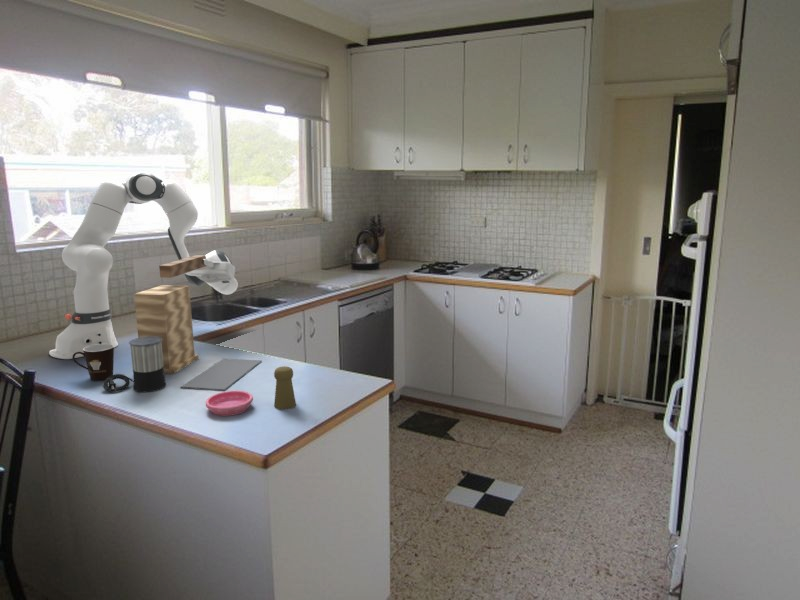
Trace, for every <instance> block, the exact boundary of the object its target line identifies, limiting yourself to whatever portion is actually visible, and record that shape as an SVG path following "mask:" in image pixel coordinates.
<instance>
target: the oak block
mask: <svg viewBox="0 0 800 600" xmlns="http://www.w3.org/2000/svg"><path fill="white" fill-rule="evenodd" d="M190 289H191V288H190V285H177V284H176V285H173V284H172V285H171V284H160V285H159V286H155V287H152V288H149V289H146V290H142V291H139V292H136V293H133V296H134V297H133V298H134V299H133V300H134V307H135V317H136V318H135V319H136V327H137V338H141V337H148V336H152V337H160V338H162V341H161V343H162V354H163V367H164V374H171V375H174V374H176V373H178V372H179V371H181V370H183V369H184V368H186V367H188V366H190V365H191V364H192V362H193V361H194V362H196V361H197V359H198V358H199V355H200V354H196V353H195V344H194V343H195V342H194V330H193V317H192V316H193V315H192V304H191V291H190ZM195 360H196V361H195ZM198 360H199V359H198ZM194 362H193V363H194ZM190 363H191V364H190ZM187 365H188V366H187ZM185 366H186V367H185ZM182 368H183V369H182Z"/></svg>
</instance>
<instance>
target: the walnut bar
mask: <svg viewBox="0 0 800 600" xmlns="http://www.w3.org/2000/svg"><path fill="white" fill-rule="evenodd" d="M202 259H206V254H205V255H203V254H201V255H199V254H195V255H191V256H190V257H188V258H184V259H181V260H179V259H177V260H175V261H170V262H167V263H164V264H160V265H159V267H158V268H159V275H160V276H159V278H170V279H172V278H174V277H179V276H180V275H184V273H187V272H190V271H193V270H196V269H199V268H202V267H205V266H206V265H203V264H202Z"/></svg>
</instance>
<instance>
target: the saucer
mask: <svg viewBox="0 0 800 600" xmlns="http://www.w3.org/2000/svg"><path fill="white" fill-rule="evenodd" d="M253 400H254V396H253V394H252V393H250V392H248V391H245V390H244V391H243V390H228V391H227V390H225V391H221V392H218V393H215V394H212V395H211V396H209V397H208V398H207V399H206V401H205V407H206V408H207V409H208V411H211V412H212V414H214V415H217V416H225V417H226V416H233V415H234V416H235V415H238V414H241V413H244V412H246V410H247V409H248V408H249V406H251V404H252V403H253V402H254V401H253Z"/></svg>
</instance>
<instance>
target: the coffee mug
mask: <svg viewBox="0 0 800 600" xmlns="http://www.w3.org/2000/svg"><path fill="white" fill-rule="evenodd" d="M114 351H115V347H114V345H112V344H96V345H91V346H87V347H85V348H84V349H83V352H84V353H83V352H76V353H74V354H73V358H72V361H73V362H74V363H75V364H76V365H78V366H79V367H81V368H83V369H84V370H87V372H88V374H89V378H90V381H91V382H104V381H105V380H106V379H107V378H108V377H110V376H111V375H114V364H115V363H114V362H115V361H114V360H115V358H114V357H115V356H114V354H115V352H114ZM76 354H82V355H83V356H82V357H84V359H85V362H86V366H85V365H83V364H81V363H79V362H78V361H77V360H76V358H75V355H76Z"/></svg>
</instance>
